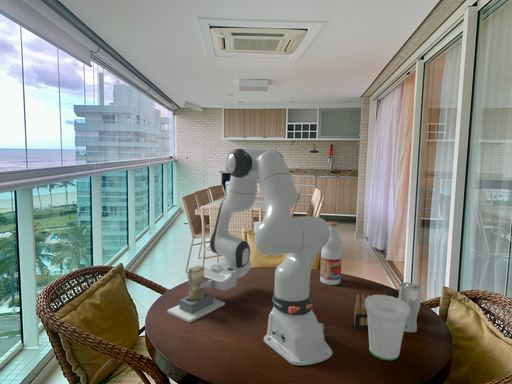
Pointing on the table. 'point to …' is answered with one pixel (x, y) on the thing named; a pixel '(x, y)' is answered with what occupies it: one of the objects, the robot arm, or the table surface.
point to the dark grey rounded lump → (392, 293)
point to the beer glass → (410, 303)
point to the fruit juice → (331, 257)
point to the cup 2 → (386, 325)
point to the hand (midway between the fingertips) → (194, 284)
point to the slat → (196, 283)
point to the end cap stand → (195, 307)
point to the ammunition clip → (360, 313)
